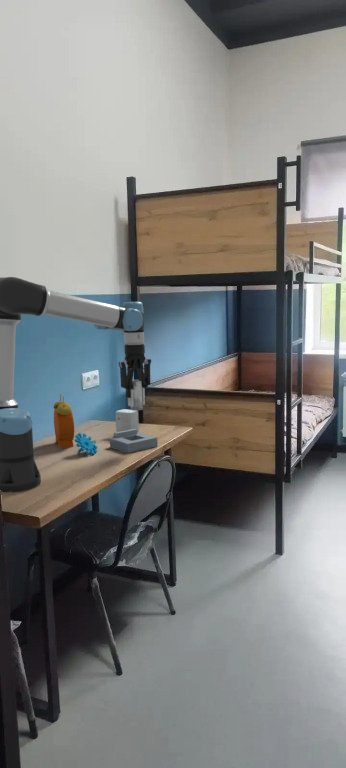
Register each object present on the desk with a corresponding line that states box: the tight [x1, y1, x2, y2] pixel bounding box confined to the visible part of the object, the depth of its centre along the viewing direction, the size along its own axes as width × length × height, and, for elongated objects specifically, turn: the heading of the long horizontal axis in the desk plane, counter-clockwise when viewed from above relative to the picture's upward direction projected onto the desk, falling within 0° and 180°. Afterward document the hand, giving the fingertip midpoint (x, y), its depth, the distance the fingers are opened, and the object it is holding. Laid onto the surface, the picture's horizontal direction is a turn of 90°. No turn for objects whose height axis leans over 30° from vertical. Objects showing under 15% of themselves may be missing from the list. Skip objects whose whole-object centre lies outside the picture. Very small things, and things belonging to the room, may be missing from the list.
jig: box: [109, 429, 158, 454], centre depth 227 cm, size 14×12×5 cm
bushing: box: [130, 379, 144, 412], centre depth 221 cm, size 4×4×11 cm
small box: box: [115, 408, 140, 433], centre depth 245 cm, size 8×6×10 cm
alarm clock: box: [53, 393, 75, 449], centre depth 232 cm, size 13×6×20 cm, turn 20°
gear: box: [74, 432, 98, 456], centre depth 220 cm, size 11×6×10 cm
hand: (136, 405), depth 222 cm, fingers closed on bushing, 4 cm apart
